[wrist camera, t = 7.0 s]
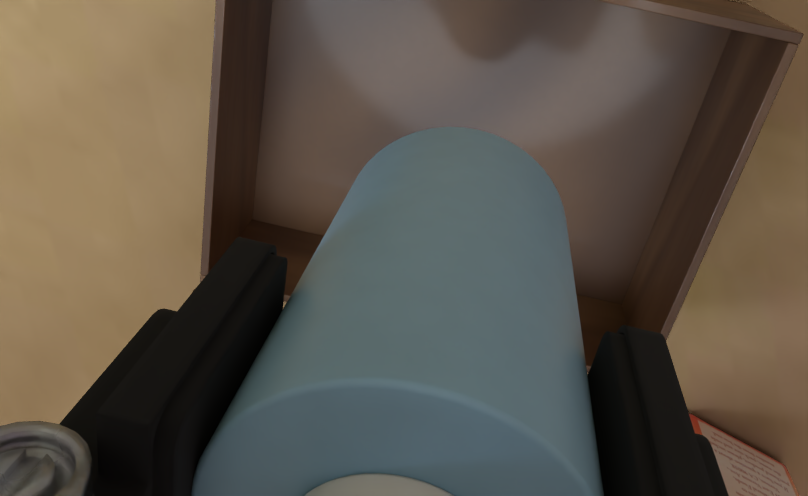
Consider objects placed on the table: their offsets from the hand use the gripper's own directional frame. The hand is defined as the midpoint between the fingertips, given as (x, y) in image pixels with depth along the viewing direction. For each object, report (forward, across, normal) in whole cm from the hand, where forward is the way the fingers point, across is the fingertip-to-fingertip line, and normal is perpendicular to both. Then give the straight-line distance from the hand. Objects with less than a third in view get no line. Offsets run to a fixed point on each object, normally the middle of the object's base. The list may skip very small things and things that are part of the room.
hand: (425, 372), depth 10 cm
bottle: (+5, 0, 0) cm, 5 cm away
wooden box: (+18, 0, +2) cm, 18 cm away
